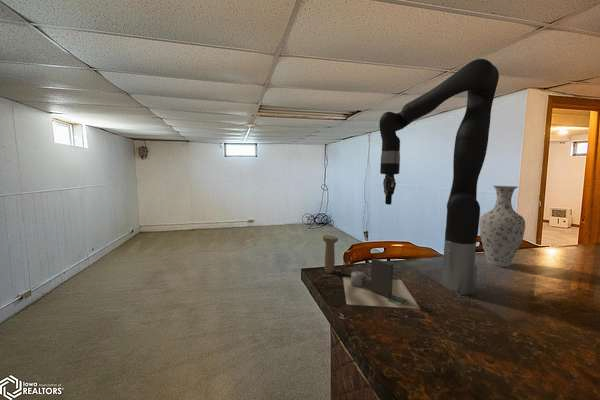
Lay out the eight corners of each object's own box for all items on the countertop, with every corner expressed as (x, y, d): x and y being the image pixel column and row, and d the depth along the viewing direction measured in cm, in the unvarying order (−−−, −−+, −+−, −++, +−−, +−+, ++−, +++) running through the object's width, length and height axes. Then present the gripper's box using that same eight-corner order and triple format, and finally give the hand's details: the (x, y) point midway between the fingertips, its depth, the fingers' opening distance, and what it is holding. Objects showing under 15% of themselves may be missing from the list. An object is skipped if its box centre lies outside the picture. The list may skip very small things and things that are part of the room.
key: (347, 282, 94) (348, 253, 93) (357, 279, 97) (358, 251, 96) (396, 305, 79) (398, 270, 78) (406, 300, 82) (408, 266, 81)
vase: (518, 262, 122) (526, 186, 119) (524, 273, 109) (533, 187, 105) (476, 256, 131) (482, 184, 127) (476, 266, 117) (483, 186, 114)
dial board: (400, 283, 98) (400, 279, 98) (420, 312, 77) (420, 308, 77) (342, 280, 100) (342, 276, 100) (346, 308, 80) (346, 303, 79)
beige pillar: (329, 278, 102) (330, 239, 100) (319, 272, 107) (320, 236, 106) (339, 276, 104) (340, 238, 103) (329, 270, 110) (330, 234, 108)
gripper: (404, 162, 104) (401, 206, 106) (395, 163, 117) (393, 202, 119) (384, 161, 105) (382, 206, 106) (377, 163, 118) (376, 202, 119)
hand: (388, 204), depth 112 cm, fingers closed
